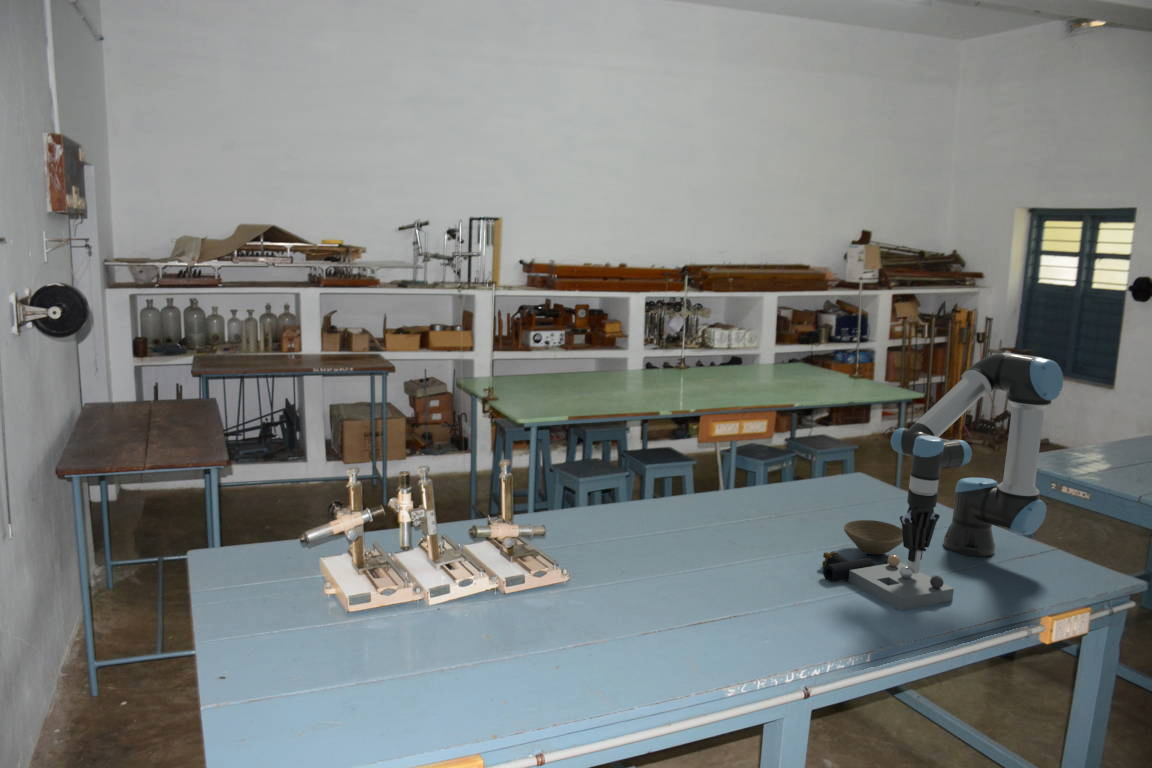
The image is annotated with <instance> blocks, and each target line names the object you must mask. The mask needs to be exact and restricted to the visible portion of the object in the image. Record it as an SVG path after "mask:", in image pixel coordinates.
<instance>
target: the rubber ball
mask: <svg viewBox="0 0 1152 768" xmlns="http://www.w3.org/2000/svg"><path fill="white" fill-rule="evenodd" d="M943 583H944V579H943V578H942V577H941V576H939V575H934V576H931V580H930V584H931V586H932V587H934V588H937V589H938V588H941V587H942V586H943ZM944 584H945V583H944Z"/></svg>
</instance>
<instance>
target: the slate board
mask: <svg viewBox="0 0 1152 768" xmlns="http://www.w3.org/2000/svg"><path fill="white" fill-rule="evenodd" d="M905 566H906V567H908V565H907V564H905V563H903V562H901V561H900V563H899V565H898V566H896V567H892V566H890V565H889V564H888V563H886V564H885V563H884V564H880V565H875V566H871V567H865V568H859V569H853V570H849V579H847V582H848V583H850V584H852V585H854V586H855V587H857V588H859V589H860V590H863V591H865V592H866V593H868V594H869V595H871V596H874V597H875V598H876V599H879V600H880V601H882V602H884V603H886V604H887V605H889V606H891V607H892V608H895V609H897V610H898V611H900V612H901V611H902V612H903V611H906V610H912V609H917V608H920V607H926V606H927V607H928V606H931V605H936V604H941V603H947V602H951V601H953V600H954V599H953V598H954V591H955V590H954V588H953V587H951V586H950V585H947V584H946V583H943V586H942V587H941V588H938V589H937V588H934V587H932V586H931V584H930V580H931V578H932V576H929V575H927V574H925V573H923V572H921V571H919V573H916V574H915V573H913V575H912V577H911V578H909V579H905V578H903V577H902V576H901V575H900V569H901V568H902V567H905Z"/></svg>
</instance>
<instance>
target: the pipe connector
mask: <svg viewBox="0 0 1152 768" xmlns="http://www.w3.org/2000/svg"><path fill="white" fill-rule="evenodd" d="M823 558H824V560H822V565H821V566H823V569H822V571H823V572H822V573H823V577H824V579H825V580H826V581H828V582H830V583H835V582H842V581H846V580H847V581H848V580H849V570H853V569H859V568H865V567H871V566H876V565H875V563H874V561H873V559H871V558H870V557H869V558H866V557H865V558H860V559H854V560H849V559H848V558H846V557H844V556H842V554H840V553H838V552H836V551H830V552H828V551H826V552H823Z"/></svg>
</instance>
